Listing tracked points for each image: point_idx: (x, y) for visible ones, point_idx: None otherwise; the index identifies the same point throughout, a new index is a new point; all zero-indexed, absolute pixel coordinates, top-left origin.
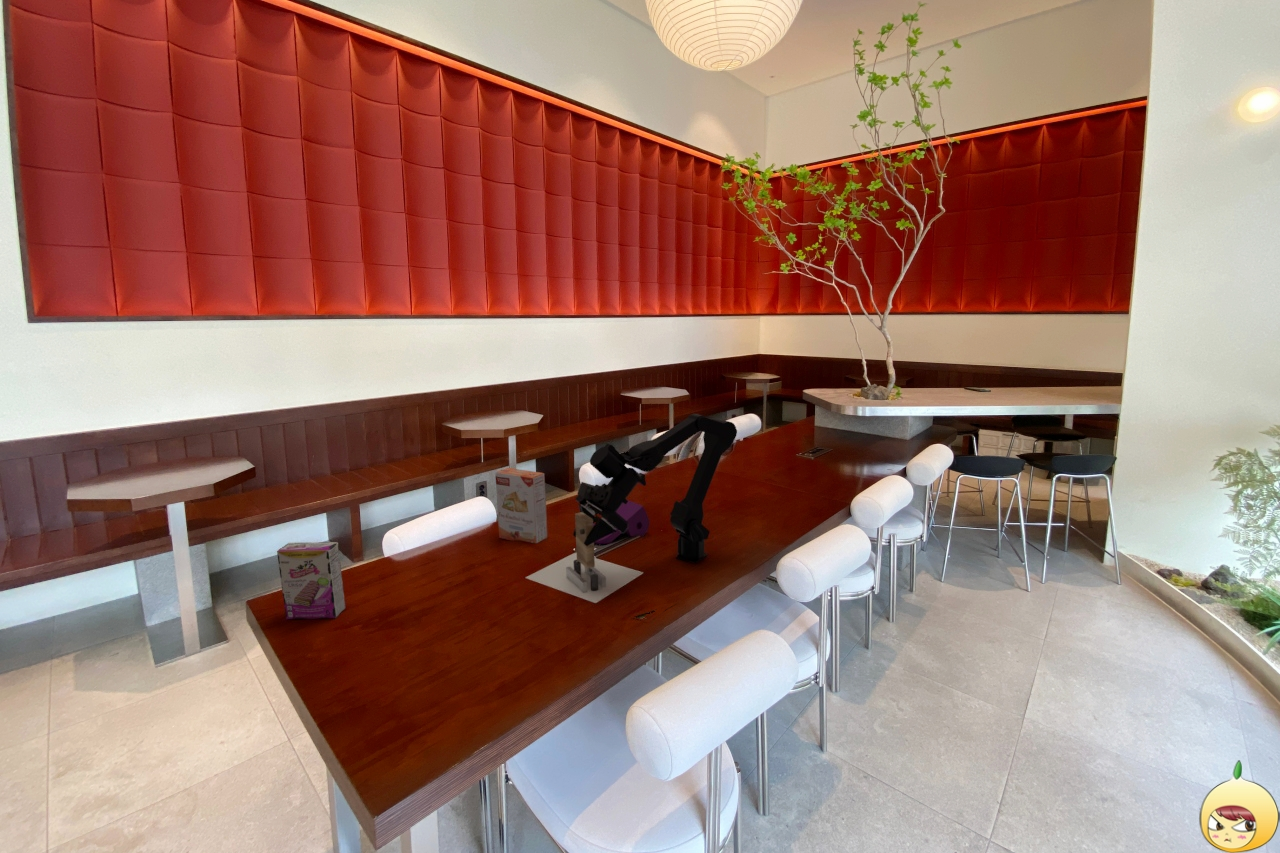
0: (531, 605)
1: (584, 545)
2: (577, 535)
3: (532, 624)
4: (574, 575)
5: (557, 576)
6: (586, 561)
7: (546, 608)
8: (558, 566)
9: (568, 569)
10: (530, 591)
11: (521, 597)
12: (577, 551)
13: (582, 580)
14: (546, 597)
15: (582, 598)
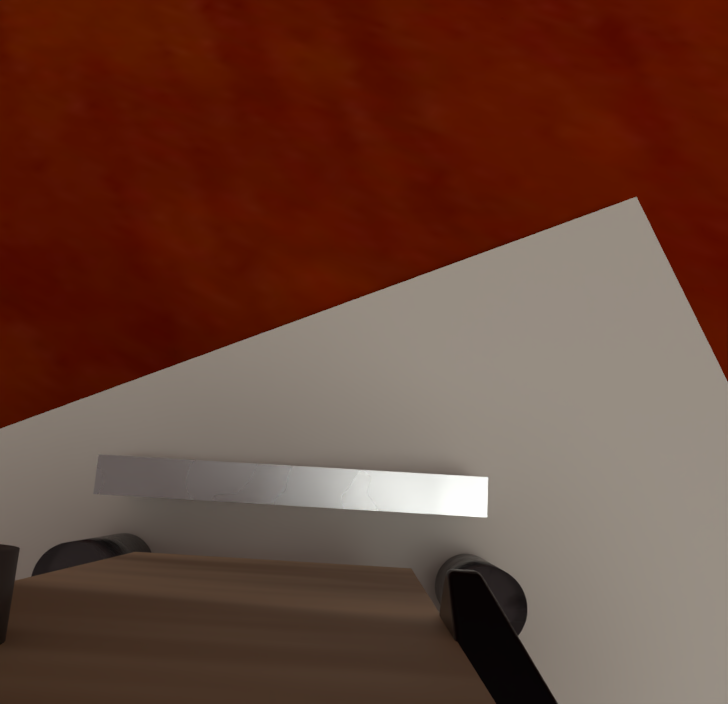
0: (257, 112)
1: (79, 588)
2: (363, 621)
3: (36, 31)
4: (287, 465)
5: (518, 417)
6: (116, 558)
7: (158, 173)
8: (702, 513)
9: (430, 474)
10: (451, 181)
11: (402, 101)
12: (387, 580)
13: (139, 472)
14: (300, 235)
15: (56, 408)
